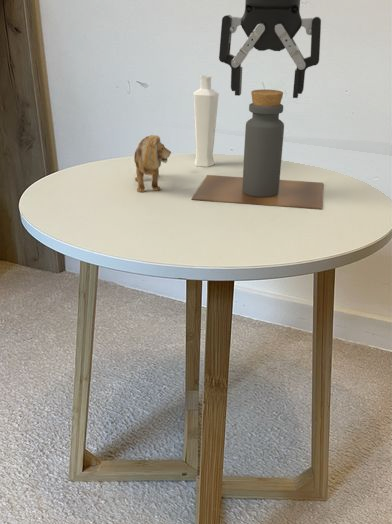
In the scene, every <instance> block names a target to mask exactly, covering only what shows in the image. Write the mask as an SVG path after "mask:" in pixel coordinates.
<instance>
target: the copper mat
mask: <svg viewBox="0 0 392 524" xmlns="http://www.w3.org/2000/svg"><path fill="white" fill-rule="evenodd" d="M242 186H243V176H231V175H230V176H229V175H217V174H216V175H215V174H213V175H212V174H207V175H206V176H205V178H204V179H203V180H202V182H201V184H200V185H199V186H198V188H197V189H196V191H195V193H194V194H193V196H192V197H191V201H203V202H215V203H229V204H231V203H232V204H243V205H257V206H269V207H270V206H271V207H284V208H298V209H312V210H323V195H324V182H321V181H320V182H318V181H304V180H302V181H301V180H292V179H291V180H288V179H287V180H286V179H280V181H279V191H278V194H277V195H275V196H271V197H254V196H249V195H246V194H244V193H243V191H242Z"/></svg>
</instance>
